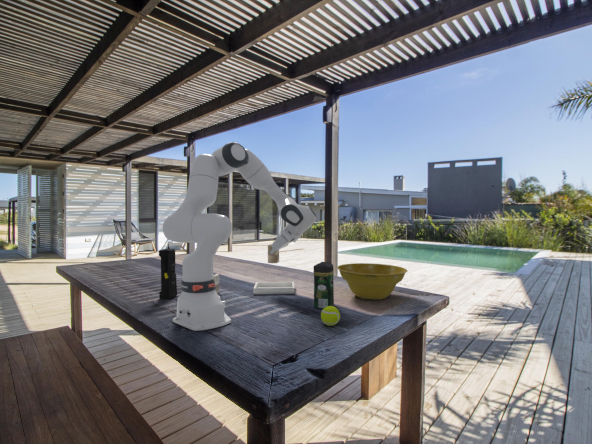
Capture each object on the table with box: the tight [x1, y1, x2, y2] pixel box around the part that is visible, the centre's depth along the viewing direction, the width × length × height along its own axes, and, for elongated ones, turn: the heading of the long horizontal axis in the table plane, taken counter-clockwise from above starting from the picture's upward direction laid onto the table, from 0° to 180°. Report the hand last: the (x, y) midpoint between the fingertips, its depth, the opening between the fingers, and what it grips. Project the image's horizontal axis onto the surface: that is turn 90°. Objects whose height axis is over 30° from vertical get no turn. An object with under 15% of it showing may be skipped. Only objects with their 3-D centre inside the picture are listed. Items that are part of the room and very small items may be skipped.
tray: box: [252, 281, 296, 295], centre depth 160 cm, size 20×14×3 cm
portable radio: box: [158, 243, 178, 300], centre depth 147 cm, size 8×6×25 cm
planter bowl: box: [336, 262, 408, 300], centre depth 148 cm, size 32×32×13 cm
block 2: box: [267, 243, 280, 264], centre depth 160 cm, size 5×5×9 cm
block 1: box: [213, 273, 220, 294], centre depth 156 cm, size 5×5×9 cm
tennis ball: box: [320, 305, 341, 327], centre depth 109 cm, size 7×7×7 cm
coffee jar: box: [313, 261, 335, 310], centre depth 131 cm, size 10×8×19 cm
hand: (272, 252), depth 160 cm, fingers closed on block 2, 5 cm apart
